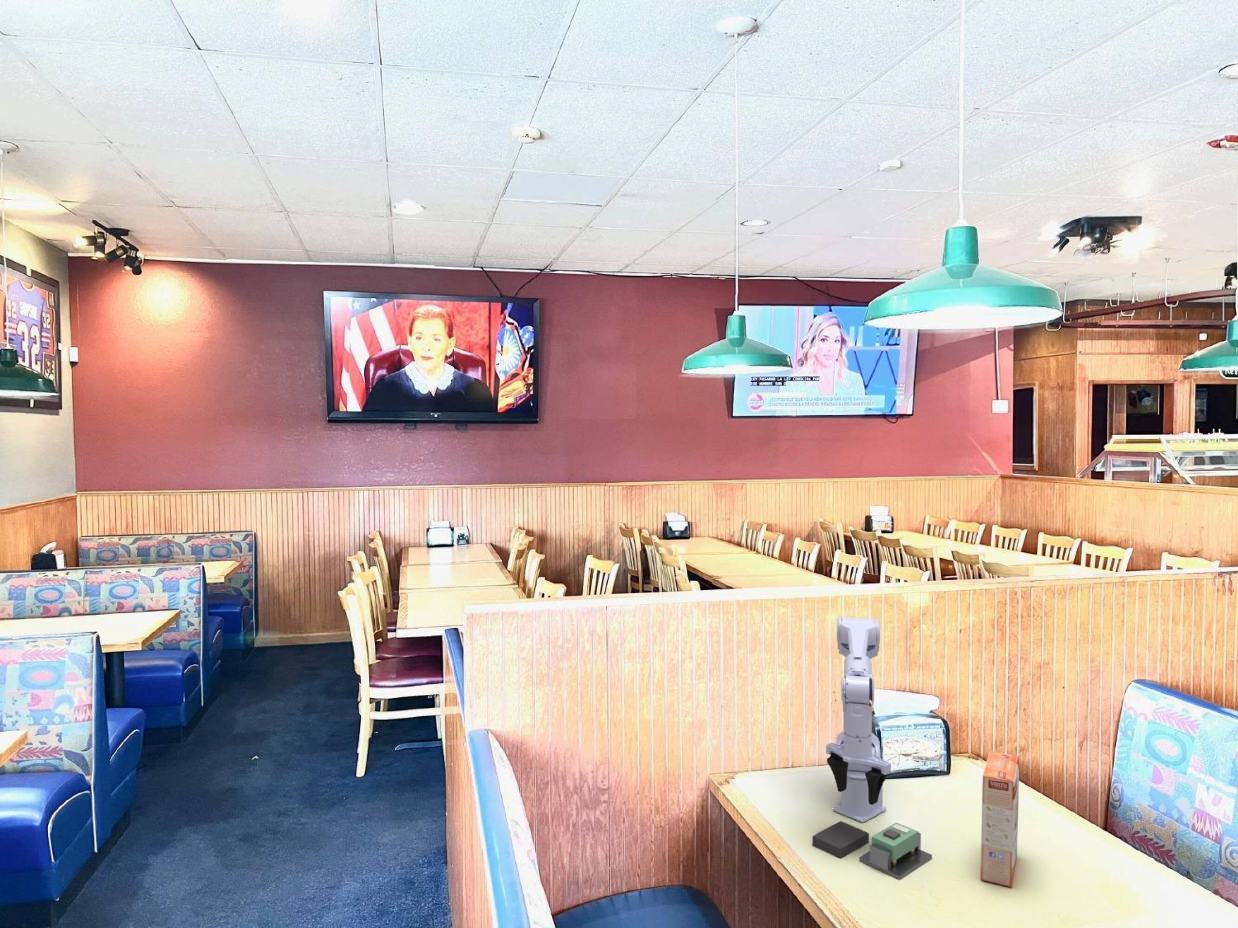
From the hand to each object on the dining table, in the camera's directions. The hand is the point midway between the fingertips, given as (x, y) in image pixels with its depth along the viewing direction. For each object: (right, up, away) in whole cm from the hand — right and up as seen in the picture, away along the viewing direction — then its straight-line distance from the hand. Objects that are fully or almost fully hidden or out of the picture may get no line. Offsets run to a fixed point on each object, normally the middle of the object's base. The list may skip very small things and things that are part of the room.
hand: (857, 796), depth 170 cm
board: (+6, -8, -7) cm, 12 cm away
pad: (-4, -10, 0) cm, 11 cm away
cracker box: (+25, -10, -10) cm, 29 cm away
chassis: (+6, -10, -7) cm, 13 cm away
